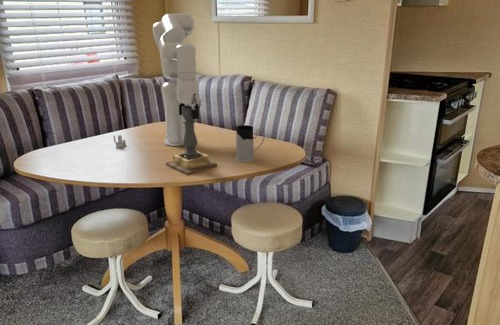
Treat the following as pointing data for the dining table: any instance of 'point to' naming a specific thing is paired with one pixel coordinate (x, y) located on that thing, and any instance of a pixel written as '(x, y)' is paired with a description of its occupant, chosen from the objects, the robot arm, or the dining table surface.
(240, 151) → the grey and black mug
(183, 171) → the socket base
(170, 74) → the robot arm
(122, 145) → the architectural model
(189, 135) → the candle holder
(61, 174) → the dining table surface
